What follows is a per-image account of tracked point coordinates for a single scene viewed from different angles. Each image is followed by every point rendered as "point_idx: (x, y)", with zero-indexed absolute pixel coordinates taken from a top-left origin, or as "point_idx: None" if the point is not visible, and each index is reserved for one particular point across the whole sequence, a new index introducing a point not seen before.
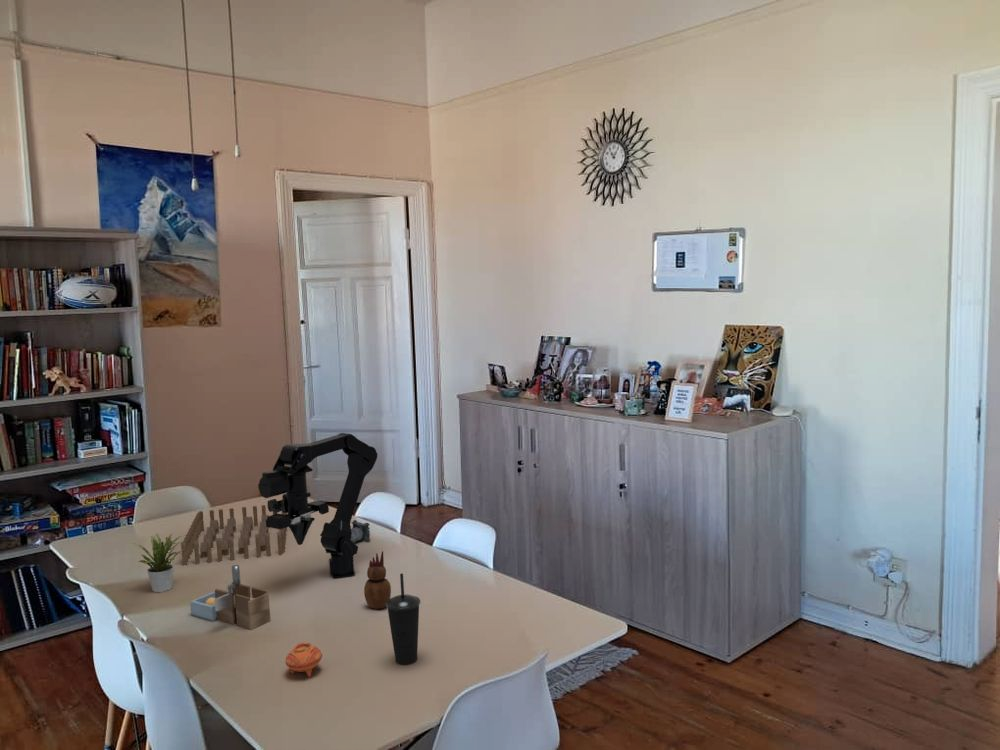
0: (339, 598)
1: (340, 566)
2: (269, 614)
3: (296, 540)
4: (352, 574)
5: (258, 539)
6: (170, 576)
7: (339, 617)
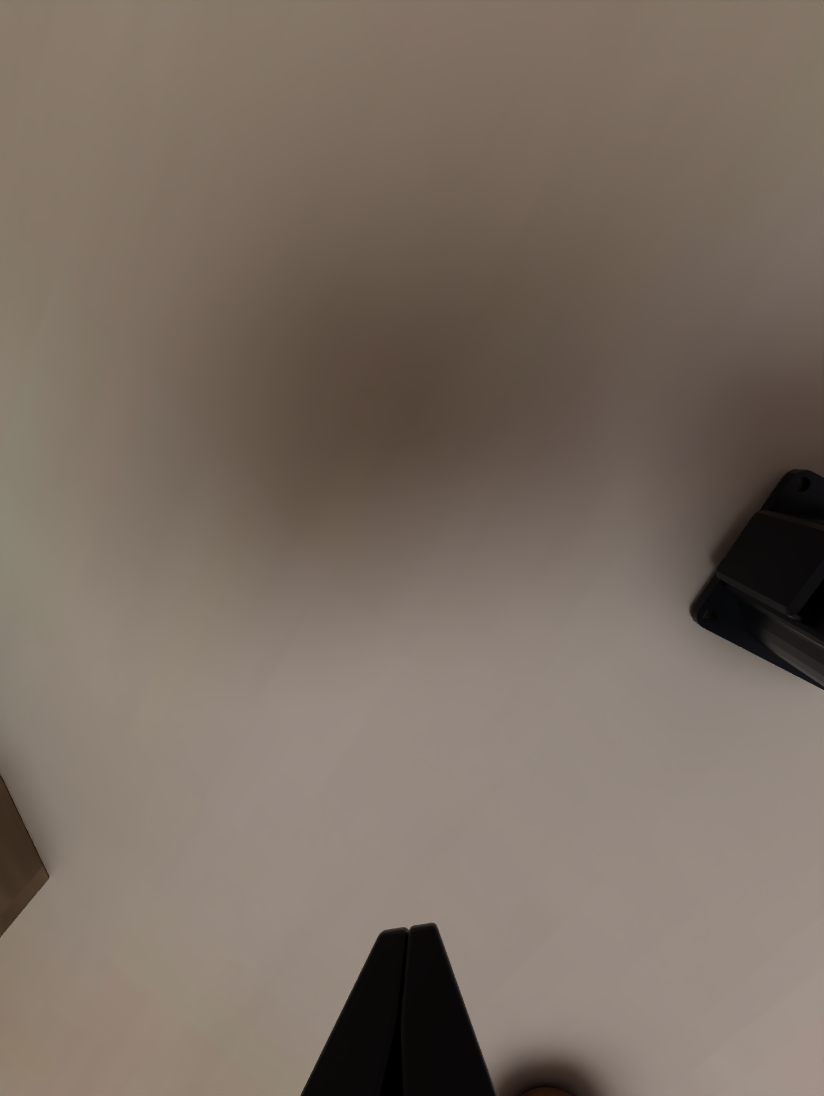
0: (487, 904)
1: (804, 672)
2: (15, 916)
3: (343, 1033)
4: (816, 684)
5: None
6: None
7: None
